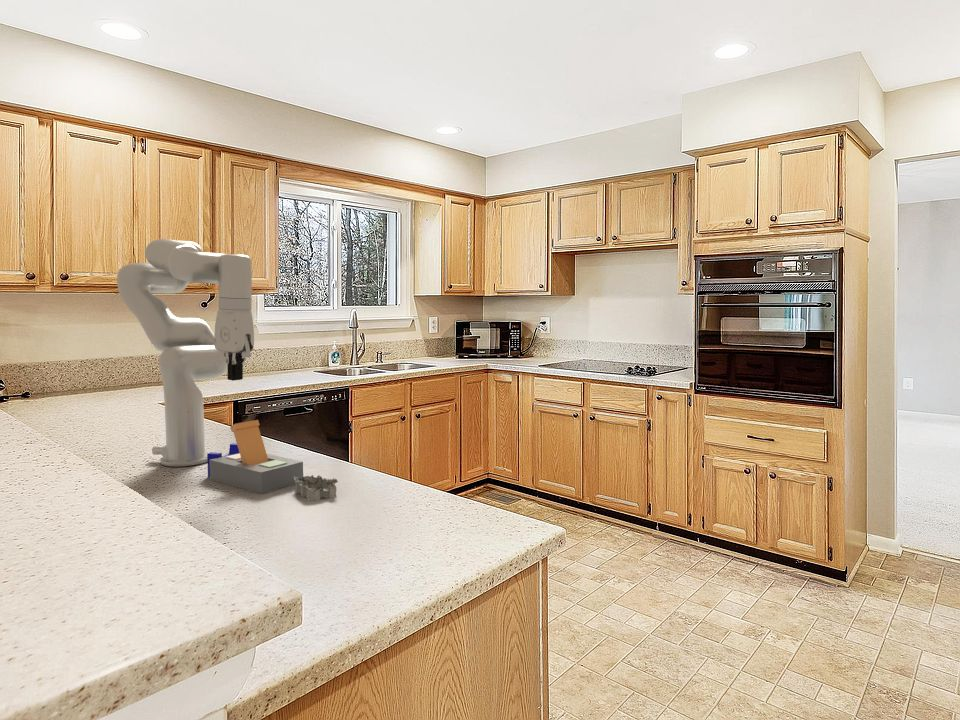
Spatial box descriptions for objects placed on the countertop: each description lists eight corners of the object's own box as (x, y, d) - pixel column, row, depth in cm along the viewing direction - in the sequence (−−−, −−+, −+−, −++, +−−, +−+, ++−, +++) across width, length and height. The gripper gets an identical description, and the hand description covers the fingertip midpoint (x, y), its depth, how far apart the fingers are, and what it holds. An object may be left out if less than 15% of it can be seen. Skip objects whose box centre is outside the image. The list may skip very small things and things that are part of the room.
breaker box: (209, 479, 155) (209, 458, 154) (251, 469, 165) (251, 449, 164) (261, 493, 144) (261, 471, 143) (303, 481, 153) (302, 460, 153)
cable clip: (228, 465, 169) (227, 443, 169) (243, 465, 169) (243, 443, 168) (202, 477, 158) (201, 453, 157) (219, 477, 157) (218, 454, 156)
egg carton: (339, 497, 142) (339, 480, 142) (307, 503, 138) (306, 485, 138) (323, 486, 151) (323, 469, 151) (292, 491, 147) (291, 473, 146)
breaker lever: (244, 474, 151) (230, 426, 153) (266, 469, 157) (252, 422, 158) (249, 472, 150) (235, 423, 152) (272, 466, 155) (258, 419, 157)
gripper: (203, 303, 155) (203, 377, 157) (240, 307, 147) (240, 385, 149) (230, 303, 161) (230, 374, 163) (267, 307, 153) (267, 381, 155)
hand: (235, 379), depth 156 cm, fingers closed
